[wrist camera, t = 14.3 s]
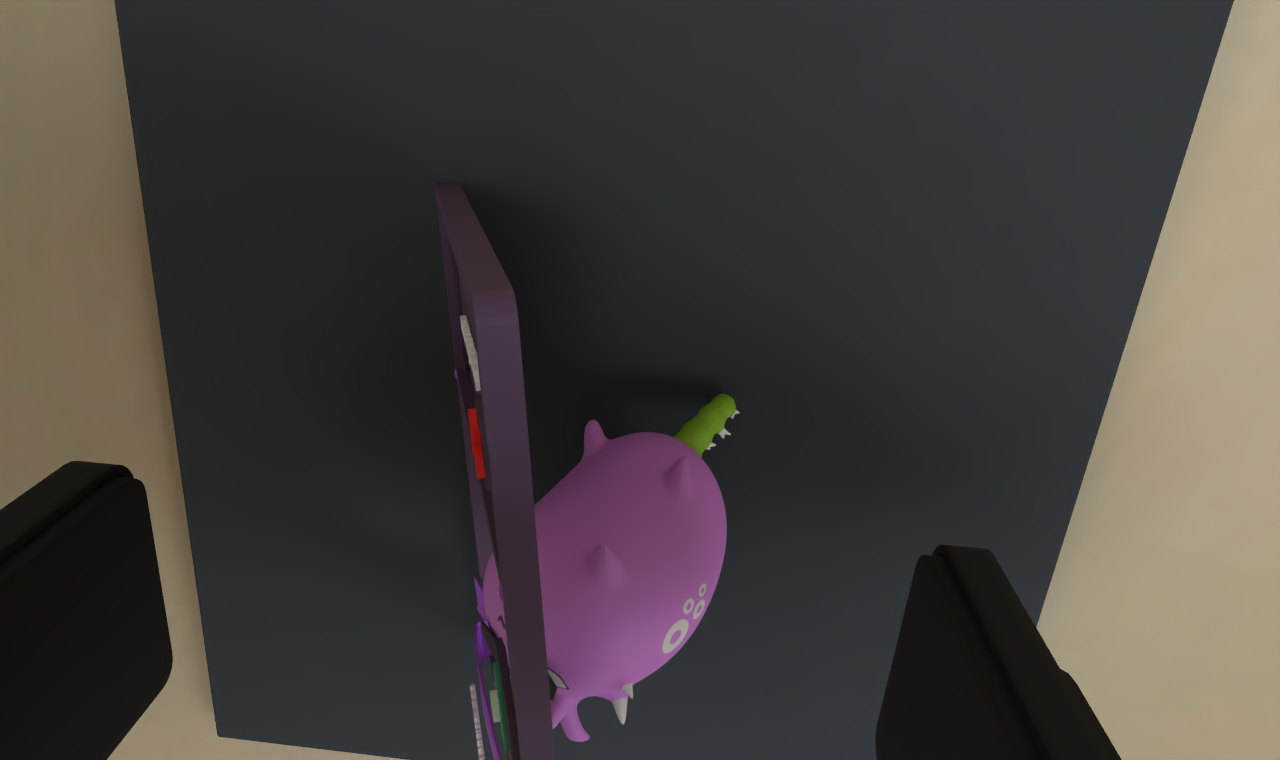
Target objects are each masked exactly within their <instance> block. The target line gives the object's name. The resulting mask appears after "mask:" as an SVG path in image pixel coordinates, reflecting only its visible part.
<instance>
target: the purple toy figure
mask: <svg viewBox="0 0 1280 760" xmlns="http://www.w3.org/2000/svg"><path fill="white" fill-rule="evenodd" d="M435 192H436V202H437V210H438V219H439V228H440V236H441V245H442V254H443V262H444V271H445V280H446V289H447V297H448V306H449V315H450V323H451V332H452V341H453V349H454V358H455V367H456V368H455V378H456V379H457V384H458V393H459V402H460V410H461V419H462V428H463V436H464V445H465V454H466V462H467V471H468V480H469V488H470V497H471V506H472V515H473V523H474V532H475V541H476V549H477V558H478V567H479V575H480V583H479V582H478V580H477V578H476V577H474V582H475V588H476V595H477V601H478V606H477V610H478V611H479V613H480V615H481V616H482V618H483V620H482V621H479V622H478V623H477V624H476V626H475V633H474V638H475V650H476V658H477V667H478V675H479V683H480V691H481V699H482V706H483V712H484V718H485V723H486V728H487V732H488V736H489V741H490V745H491V749H492V753H493V758H494V760H502V757H501V754H500V750H499V747H498V743H497V739H496V735H495V730H494V726H493V721H494V723H495V722H500V727H501V734H502V738H503V743H504V749H505V755H506V760H555V750H554V738H553V729H554V728H555V727H556V726H557V725H558V723H559V722H560V723H561V726H562V728H563V731H564V733H565V735H566V736H567V737H568V738H569V739H570V740H572V741H576V742H582V741H586V740H588V739H589V738H590V736H589V735H588V733H587V732H586V731H585V730H584V728H583V727H582V725H581V722H580V720H579V717H578V713H577V704H578V703H579V702H580V701H581V700H582V699H584V698H586V697H591V696H598V697H602V698H605V699H607V700H609V701H611V702H612V703H613V705H614V708H615V711H616V714H617V716H618V718H619V720H620V722H621V723H622V724H623V725H624V723H625V719H626V713H627V701H628V696H630V698H631V699H633V687H632V686H633V685H634V684H635V683H637V682H639V681H640V680H642V679H644V678H645V677H647V676H649V675H650V674H652V673H653V672H655V671H656V670H657V669H659V668H660V667H661V666H663V665H664V664H665V663H666V662H667V661H668V660H670V659H671V658H672V657H673V656H674V655H675V654H676V653H677V652H678V651H679V650H680V649H681V648H682V646H683V645H684V644H685V643H686V641H687V640H688V639H689V638H690V636H691V635H692V634H693V632H694V631H695V629H696V627H697V626H698V624H699V622H700V621H701V619H702V617H703V615H704V614H705V612H706V610H707V607H708V605H709V603H710V601H711V598H712V596H713V593H714V591H715V588H716V585H717V582H718V579H719V575H720V572H721V568H722V564H723V559H724V554H725V547H726V536H727V522H726V512H725V506H724V502H723V497H722V494H721V491H720V488H719V486H718V483H717V481H716V479H715V477H714V475H713V473H712V472H711V470H710V468H709V467H708V466H707V464H706V463H705V462H704V460H703V459H702V458H701V457H702V453H703V451H704V450H705V449H708V450H710V447H713V446H716V444H714V443H712V439H713V436H714V435H715V434H719V435H720V436H721V437H722V438H723V439H724V435H725V434H726V435H731V434H730V433H729V432H728V431H727V430H726V429H725V428H724V425H725V422H726V420H727V418H729V417H731V418H732V419H733V418H734V415H735V414H739V413H740V412H739V411H737V410H736V405H735V401H734V400H733V398H732V397H730V396H729V395H727V394H719V395H717V396H716V397H714V398H713V399H712V401H711V402H710V403H709V404H707V405H705V406H704V407H703V408H702V409H701V410H700V411H699V412H698V414H697V415H696V416H695V417H694V418H693V419H692V420H690V421H688V422H687V423H685V424H684V425H683V426H682V428H681V429H680V430H679V432H678V433H677V434H676V435H675V436H673V437H671V436H669V435H665V434H662V433H656V432H638V433H632V434H628V435H625V436H621V437H618V438H616V439H612V440H609V439H607V438H606V437H605V435H604V433H603V431H602V429H601V427H600V425H599V423H598V422H597V421H596V420H590V421H589V422H588V423H587V425H586V428H585V432H584V454H583V458H582V460H581V461H580V463H579V464H578V465H577V466H576V467H575V468H574V469H573V470H571V471H570V472H569V473H568V474H567V475H566V476H565V477H564V478H563V479H562V480H561V481H560V482H559V483H558V484H557V485H556V486H555V487H554V488H553V489H551V490H550V491H549V492H548V493H547V494H546V495H545V496H544V497H543V498H542V499H541V500H540V501H538V502H537V503H536V504H535V505H534V499H533V487H532V475H531V463H530V451H529V439H528V427H527V415H526V403H525V391H524V380H523V368H522V356H521V344H520V332H519V320H518V312H517V305H516V299H515V294H514V291H513V288H512V286H511V284H510V282H509V280H508V278H507V276H506V274H505V272H504V270H503V268H502V266H501V264H500V262H499V260H498V258H497V256H496V254H495V252H494V250H493V248H492V246H491V244H490V242H489V241H488V239H487V237H486V235H485V233H484V231H483V229H482V227H481V225H480V223H479V221H478V219H477V217H476V215H475V213H474V211H473V209H472V207H471V205H470V203H469V201H468V199H467V197H466V195H465V193H464V191H463V189H462V187H461V185H460V183H456V184H442V185H435ZM480 584H481V585H480ZM488 657H489V659H490V665H491V671H492V677H493V683H494V689H495V690H491V691H490V699H491V707H492V714H493V721H492V717H491V712H490V708H489V703H488V699H487V695H486V691H485V687H484V683H483V678H482V666H483V662H484V661H485V660H486V659H487V658H488ZM470 691H471V699H472V707H473V715H474V723H475V730H476V738H477V746H478V754H479V760H485V756H484V748H483V741H482V734H481V726H480V719H479V711H478V704H477V697H476V690H475V684H473V685H470Z"/></svg>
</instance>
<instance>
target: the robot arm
mask: <svg viewBox="0 0 1280 760" xmlns="http://www.w3.org/2000/svg"><path fill="white" fill-rule="evenodd" d="M172 662H173V656H172V648H171V642H170V636H169V630H168V624H167V618H166V611H165V605H164V599H163V593H162V587H161V581H160V574H159V568H158V562H157V556H156V550H155V544H154V537H153V531H152V525H151V519H150V513H149V507H148V500H147V494H146V490H145V486H144V485H143V483H142V482H141V481H140V480H138V479H134V478H133V474H132V473H131V472H130V470H129V469H128V468H126V467H125V466H123V465H114V464H104V463H93V462H83V461H71V462H69V463H67V464H65V465H63V466H62V467H60V468H59V469H58V470H56V471H55V472H53V473H52V474H51V475H49V476H48V477H46V478H45V479H43V480H42V481H41V482H39V483H38V484H36V485H35V486H34V487H32V488H31V489H29V490H28V491H26V492H25V493H24V494H22V495H21V496H19V497H18V498H17V499H15V500H14V501H12V502H11V503H9V504H8V505H7V506H5V507H4V508H2V509H1V510H0V760H107V759H108V757H109V756H110V755H111V753H112V752H113V751H114V750H115V748H116V747H117V746H118V745H119V743H120V742H121V741H122V740H123V738H124V737H125V736H126V734H127V733H128V732H129V731H130V729H131V728H132V727H133V726H134V724H135V723H136V722H137V721H138V719H139V718H140V717H141V716H142V714H143V713H144V712H145V710H146V709H147V708H148V707H149V705H150V704H151V703H152V702H153V700H154V699H155V698H156V697H157V695H158V694H159V693H160V691H161V690H162V689H163V687H164V686H165V684H166V682H167V680H168V678H169V676H170V672H171V669H172ZM875 747H876V756H877V760H1121V758H1120V756H1119V755H1118V753H1117V751H1116V750H1115V748H1114V746H1113V745H1112V743H1111V741H1110V739H1109V738H1108V736H1107V734H1106V733H1105V731H1104V729H1103V728H1102V726H1101V724H1100V723H1099V721H1098V719H1097V717H1096V716H1095V714H1094V712H1093V711H1092V709H1091V707H1090V706H1089V704H1088V702H1087V701H1086V699H1085V697H1084V695H1083V694H1082V692H1081V690H1080V689H1079V687H1078V685H1077V684H1076V682H1075V681H1074V680H1073V679H1072V677H1071V676H1070V675H1069V674H1068V673H1067V672H1065V671H1063V670H1061V669H1060V668H1059V666H1058V665H1057V663H1056V661H1055V659H1054V658H1053V656H1052V654H1051V653H1050V651H1049V649H1048V647H1047V646H1046V644H1045V642H1044V640H1043V639H1042V637H1041V635H1040V634H1039V632H1038V630H1037V628H1036V627H1035V625H1034V623H1033V621H1032V620H1031V618H1030V616H1029V615H1028V613H1027V611H1026V609H1025V608H1024V606H1023V604H1022V602H1021V601H1020V599H1019V597H1018V596H1017V594H1016V592H1015V590H1014V589H1013V587H1012V585H1011V583H1010V582H1009V580H1008V578H1007V577H1006V575H1005V573H1004V571H1003V570H1002V568H1001V566H1000V564H999V563H998V561H997V559H996V558H995V556H994V554H993V553H992V552H991V551H990V550H988V549H984V548H974V547H964V546H953V545H943V544H940V545H939V546H937V547H936V549H935V550H934V552H933V555H932V556H930V555H921V556H920V557H919V559H918V560H917V563H916V567H915V571H914V575H913V579H912V583H911V587H910V591H909V595H908V599H907V604H906V608H905V612H904V616H903V620H902V624H901V628H900V632H899V636H898V640H897V645H896V649H895V653H894V657H893V661H892V665H891V669H890V673H889V677H888V682H887V686H886V690H885V694H884V698H883V702H882V706H881V710H880V714H879V719H878V723H877V728H876V737H875Z"/></svg>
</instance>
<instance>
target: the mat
mask: <svg viewBox="0 0 1280 760" xmlns="http://www.w3.org/2000/svg"><path fill="white" fill-rule="evenodd" d="M1233 1H1234V0H115V7H116V14H117V21H118V28H119V35H120V43H121V50H122V57H123V64H124V71H125V78H126V85H127V93H128V100H129V107H130V114H131V121H132V128H133V135H134V143H135V150H136V157H137V164H138V171H139V178H140V185H141V193H142V200H143V207H144V214H145V221H146V228H147V235H148V243H149V250H150V257H151V264H152V271H153V278H154V285H155V293H156V300H157V307H158V314H159V321H160V328H161V336H162V343H163V350H164V357H165V364H166V371H167V378H168V386H169V393H170V400H171V407H172V414H173V421H174V428H175V436H176V443H177V450H178V457H179V464H180V471H181V478H182V486H183V493H184V500H185V507H186V514H187V521H188V528H189V536H190V543H191V550H192V557H193V564H194V571H195V578H196V586H197V593H198V600H199V607H200V614H201V621H202V628H203V636H204V643H205V650H206V657H207V664H208V671H209V678H210V686H211V693H212V700H213V707H214V714H215V721H216V729H217V735H218V736H219V737H227V738H235V739H243V740H251V741H260V742H268V743H276V744H284V745H292V746H301V747H309V748H317V749H325V750H334V751H342V752H350V753H358V754H367V755H375V756H383V757H391V758H400V759H408V760H479V754H478V746H477V738H476V730H475V723H474V715H473V707H472V699H471V691H470V685H473V684H475V690H476V697H477V704H478V711H479V719H480V726H481V734H482V741H483V748H484V756H485V760H494V758H493V753H492V749H491V745H490V741H489V736H488V732H487V728H486V723H485V718H484V712H483V706H482V699H481V691H480V683H479V675H478V667H477V658H476V650H475V638H474V633H475V626H476V624H477V623H478V622H479V621H482V620H483V618H482V616H481V615H480V613H479V611H478V610H477V606H478V601H477V595H476V588H475V582H474V577H476V578H477V580H478V582H479V583H480V575H479V567H478V558H477V549H476V541H475V532H474V523H473V515H472V506H471V497H470V488H469V480H468V471H467V462H466V454H465V445H464V436H463V428H462V419H461V410H460V402H459V393H458V384H457V379H456V378H455V368H456V367H455V358H454V349H453V341H452V332H451V323H450V315H449V306H448V297H447V289H446V280H445V271H444V262H443V254H442V245H441V236H440V228H439V219H438V210H437V202H436V192H435V185H442V184H456V183H460V185H461V187H462V189H463V191H464V193H465V195H466V197H467V199H468V201H469V203H470V205H471V207H472V209H473V211H474V213H475V215H476V217H477V219H478V221H479V223H480V225H481V227H482V229H483V231H484V233H485V235H486V237H487V239H488V241H489V242H490V244H491V246H492V248H493V250H494V252H495V254H496V256H497V258H498V260H499V262H500V264H501V266H502V268H503V270H504V272H505V274H506V276H507V278H508V280H509V282H510V284H511V286H512V288H513V291H514V294H515V299H516V305H517V312H518V320H519V332H520V344H521V356H522V368H523V380H524V391H525V403H526V415H527V427H528V439H529V451H530V463H531V475H532V487H533V499H534V505H535V504H536V503H537V502H538V501H540V500H541V499H542V498H543V497H544V496H545V495H546V494H547V493H548V492H549V491H550V490H551V489H553V488H554V487H555V486H556V485H557V484H558V483H559V482H560V481H561V480H562V479H563V478H564V477H565V476H566V475H567V474H568V473H569V472H570V471H571V470H573V469H574V468H575V467H576V466H577V465H578V464H579V463H580V461H581V460H582V458H583V454H584V432H585V428H586V425H587V423H588V422H589V421H590V420H596V421H597V422H598V423H599V425H600V427H601V429H602V431H603V433H604V435H605V437H606V438H607V439H609V440H612V439H616V438H618V437H621V436H625V435H628V434H632V433H638V432H656V433H662V434H665V435H669V436H671V437H673V436H675V435H676V434H677V433H678V432H679V430H680V429H681V428H682V426H683V425H684V424H685V423H687V422H688V421H690V420H692V419H693V418H694V417H695V416H696V415H697V414H698V412H699V411H700V410H701V409H702V408H703V407H704V406H705V405H707V404H709V403H710V402H711V401H712V399H713V398H714V397H716V396H717V395H719V394H727V395H729V396H730V397H732V398H733V400H734V401H735V405H736V410H737V411H739V412H740V413H739V414H735V415H734V418H733V419H732V418H731V417H729V418H727V420H726V422H725V425H724V428H725V429H726V430H727V431H728V432H729V433H730V434H731V435H726V434H725V435H724V439H723V438H722V437H721V436H720V435H719V434H715V435H714V436H713V439H712V443H714V444H716V446H713V447H710V450H708V449H705V450H704V451H703V453H702V457H701V458H702V459H703V460H704V462H705V463H706V464H707V466H708V467H709V468H710V470H711V472H712V473H713V475H714V477H715V479H716V481H717V483H718V486H719V488H720V491H721V494H722V497H723V502H724V506H725V512H726V522H727V536H726V547H725V554H724V559H723V564H722V568H721V572H720V575H719V579H718V582H717V585H716V588H715V591H714V593H713V596H712V598H711V601H710V603H709V605H708V607H707V610H706V612H705V614H704V615H703V617H702V619H701V621H700V622H699V624H698V626H697V627H696V629H695V631H694V632H693V634H692V635H691V636H690V638H689V639H688V640H687V641H686V643H685V644H684V645H683V646H682V648H681V649H680V650H679V651H678V652H677V653H676V654H675V655H674V656H673V657H672V658H671V659H670V660H668V661H667V662H666V663H665V664H664V665H663V666H661V667H660V668H659V669H657V670H656V671H655V672H653V673H652V674H650V675H649V676H647V677H645V678H644V679H642V680H640V681H639V682H637V683H635V684H634V685H633V686H632V687H633V699H631V698H630V696H628V701H627V713H626V719H625V723H624V725H623V724H622V723H621V722H620V720H619V718H618V716H617V714H616V711H615V708H614V705H613V703H612V702H611V701H609V700H607V699H605V698H602V697H598V696H591V697H586V698H584V699H582V700H581V701H580V702H579V703H578V704H577V713H578V717H579V720H580V722H581V725H582V727H583V728H584V730H585V731H586V732H587V733H588V735H589V736H590V738H589V739H588V740H586V741H582V742H576V741H572V740H570V739H569V738H568V737H567V736H566V735H565V733H564V731H563V728H562V726H561V723H560V722H559V723H558V725H557V726H556V727H555V728H554V729H553V738H554V750H555V760H877V756H876V747H875V737H876V728H877V723H878V719H879V714H880V710H881V706H882V702H883V698H884V694H885V690H886V686H887V682H888V677H889V673H890V669H891V665H892V661H893V657H894V653H895V649H896V645H897V640H898V636H899V632H900V628H901V624H902V620H903V616H904V612H905V608H906V604H907V599H908V595H909V591H910V587H911V583H912V579H913V575H914V571H915V567H916V563H917V560H918V559H919V557H920V556H921V555H930V556H932V555H933V552H934V550H935V549H936V547H937V546H939V545H940V544H943V545H953V546H964V547H974V548H984V549H988V550H990V551H991V552H992V553H993V554H994V556H995V558H996V559H997V561H998V563H999V564H1000V566H1001V568H1002V570H1003V571H1004V573H1005V575H1006V577H1007V578H1008V580H1009V582H1010V583H1011V585H1012V587H1013V589H1014V590H1015V592H1016V594H1017V596H1018V597H1019V599H1020V601H1021V602H1022V604H1023V606H1024V608H1025V609H1026V611H1027V613H1028V615H1029V616H1030V618H1031V620H1032V621H1033V623H1034V625H1035V627H1036V626H1037V623H1038V620H1039V617H1040V613H1041V610H1042V607H1043V604H1044V601H1045V598H1046V594H1047V591H1048V588H1049V585H1050V582H1051V579H1052V575H1053V572H1054V569H1055V566H1056V563H1057V560H1058V556H1059V553H1060V550H1061V547H1062V544H1063V540H1064V537H1065V534H1066V531H1067V528H1068V525H1069V521H1070V518H1071V515H1072V512H1073V509H1074V506H1075V502H1076V499H1077V496H1078V493H1079V490H1080V487H1081V483H1082V480H1083V477H1084V474H1085V471H1086V468H1087V464H1088V461H1089V458H1090V455H1091V452H1092V449H1093V445H1094V442H1095V439H1096V436H1097V433H1098V430H1099V426H1100V423H1101V420H1102V417H1103V414H1104V410H1105V407H1106V404H1107V401H1108V398H1109V395H1110V391H1111V388H1112V385H1113V382H1114V379H1115V376H1116V372H1117V369H1118V366H1119V363H1120V360H1121V357H1122V353H1123V350H1124V347H1125V344H1126V341H1127V338H1128V334H1129V331H1130V328H1131V325H1132V322H1133V319H1134V315H1135V312H1136V309H1137V306H1138V303H1139V299H1140V296H1141V293H1142V290H1143V287H1144V284H1145V280H1146V277H1147V274H1148V271H1149V268H1150V265H1151V261H1152V258H1153V255H1154V252H1155V249H1156V246H1157V242H1158V239H1159V236H1160V233H1161V230H1162V227H1163V223H1164V220H1165V217H1166V214H1167V211H1168V208H1169V204H1170V201H1171V198H1172V195H1173V192H1174V188H1175V185H1176V182H1177V179H1178V176H1179V173H1180V169H1181V166H1182V163H1183V160H1184V157H1185V154H1186V150H1187V147H1188V144H1189V141H1190V138H1191V135H1192V131H1193V128H1194V125H1195V122H1196V119H1197V116H1198V112H1199V109H1200V106H1201V103H1202V100H1203V97H1204V93H1205V90H1206V87H1207V84H1208V81H1209V78H1210V74H1211V71H1212V68H1213V65H1214V62H1215V58H1216V55H1217V52H1218V49H1219V46H1220V43H1221V39H1222V36H1223V33H1224V30H1225V27H1226V24H1227V20H1228V17H1229V14H1230V11H1231V8H1232V5H1233ZM480 585H481V584H480ZM482 678H483V683H484V687H485V691H486V695H487V699H488V703H489V708H490V712H491V717H492V721H493V714H492V707H491V699H490V691H491V690H495V689H494V683H493V677H492V671H491V665H490V659H489V657H488V658H487V659H486V660H485V661H484V662H483V666H482ZM493 726H494V730H495V735H496V739H497V743H498V747H499V750H500V754H501V757H502V760H506V755H505V749H504V743H503V738H502V734H501V727H500V722H495V723H494V721H493Z"/></svg>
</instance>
